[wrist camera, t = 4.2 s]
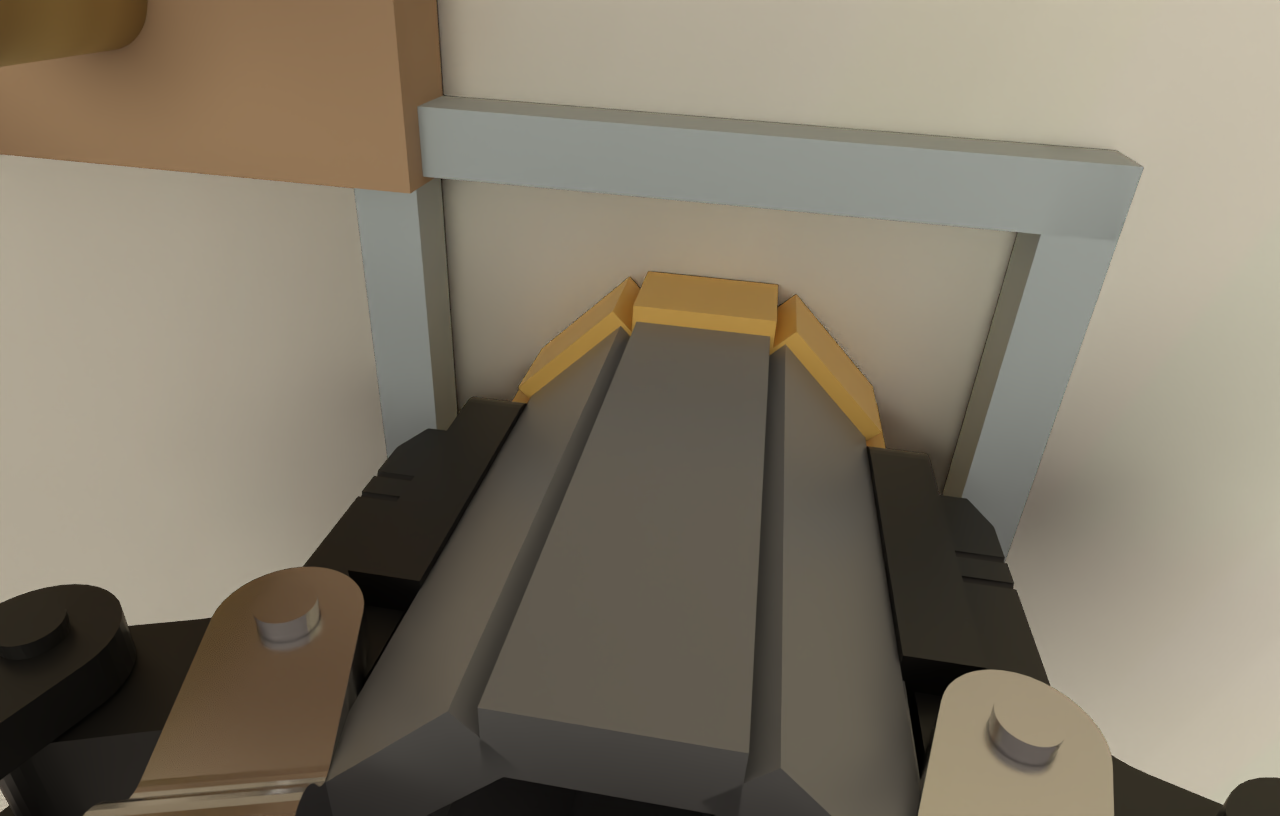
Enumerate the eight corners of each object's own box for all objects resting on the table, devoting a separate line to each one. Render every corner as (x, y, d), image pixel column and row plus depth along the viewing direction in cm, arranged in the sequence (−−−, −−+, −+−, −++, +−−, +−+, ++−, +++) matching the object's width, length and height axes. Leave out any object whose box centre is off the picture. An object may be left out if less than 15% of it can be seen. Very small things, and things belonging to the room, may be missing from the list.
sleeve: (533, 260, 11) (218, 641, 5) (900, 297, 10) (1053, 778, 4) (538, 541, 13) (330, 1031, 7) (837, 583, 13) (878, 1152, 7)
